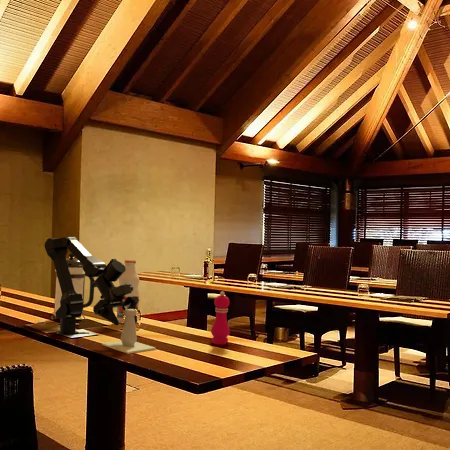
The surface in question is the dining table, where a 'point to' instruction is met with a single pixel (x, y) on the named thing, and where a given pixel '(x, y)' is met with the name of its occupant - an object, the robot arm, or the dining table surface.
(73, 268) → the coffee press
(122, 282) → the fruit juice
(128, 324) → the salt shaker
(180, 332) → the dining table surface
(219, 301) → the pepper mill
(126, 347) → the sage mat
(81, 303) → the robot arm
